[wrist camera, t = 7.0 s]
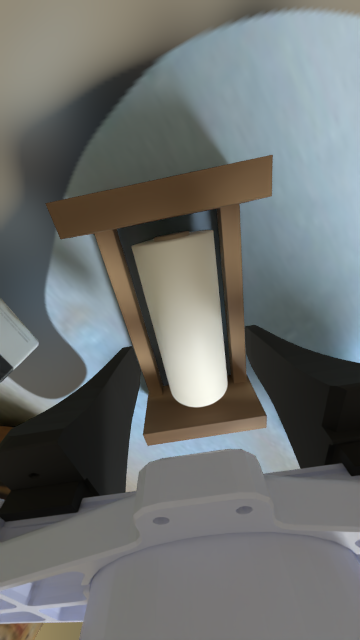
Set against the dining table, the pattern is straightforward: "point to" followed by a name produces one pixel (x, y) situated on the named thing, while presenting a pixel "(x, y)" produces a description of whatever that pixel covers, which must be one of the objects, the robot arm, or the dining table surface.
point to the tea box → (13, 341)
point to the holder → (224, 195)
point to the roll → (185, 313)
